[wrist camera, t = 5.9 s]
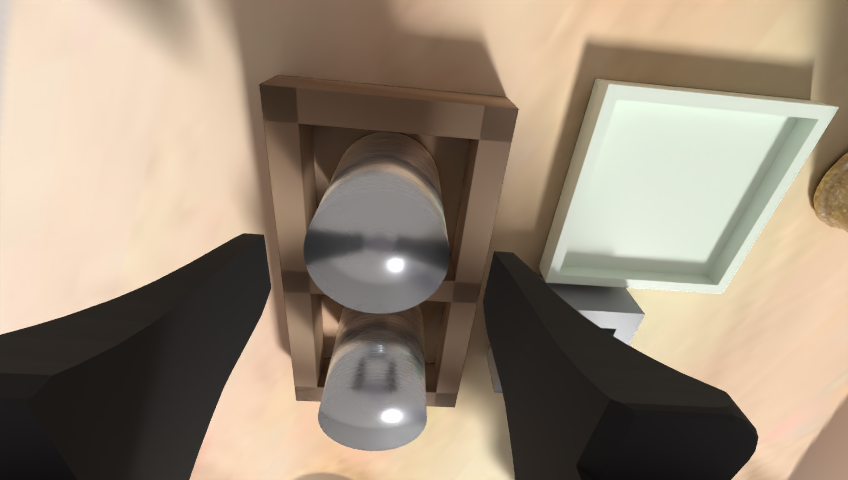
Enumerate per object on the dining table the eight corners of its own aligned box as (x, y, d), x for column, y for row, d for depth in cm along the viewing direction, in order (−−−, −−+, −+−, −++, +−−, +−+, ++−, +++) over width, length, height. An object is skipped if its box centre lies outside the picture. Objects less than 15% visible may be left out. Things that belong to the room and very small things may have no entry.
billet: (451, 147, 16) (469, 212, 11) (424, 236, 19) (427, 324, 13) (345, 119, 16) (312, 175, 11) (330, 214, 18) (296, 299, 13)
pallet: (451, 378, 24) (454, 407, 22) (305, 371, 23) (296, 400, 22) (507, 97, 15) (518, 109, 14) (277, 75, 15) (259, 84, 13)
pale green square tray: (706, 279, 20) (722, 293, 19) (538, 268, 20) (545, 282, 19) (811, 100, 16) (839, 107, 15) (595, 78, 15) (608, 84, 14)
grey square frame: (585, 361, 23) (602, 397, 21) (486, 356, 23) (494, 392, 21) (620, 281, 20) (644, 314, 18) (507, 274, 20) (518, 306, 18)
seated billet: (419, 350, 23) (422, 452, 18) (341, 347, 22) (320, 449, 17) (426, 289, 20) (431, 386, 15) (339, 285, 20) (314, 382, 15)
